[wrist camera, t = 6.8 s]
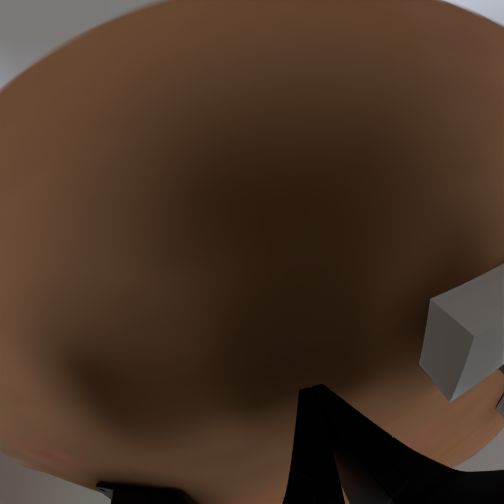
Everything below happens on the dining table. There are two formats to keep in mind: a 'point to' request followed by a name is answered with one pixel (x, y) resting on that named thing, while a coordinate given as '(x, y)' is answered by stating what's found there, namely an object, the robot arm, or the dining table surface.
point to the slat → (465, 334)
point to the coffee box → (501, 406)
